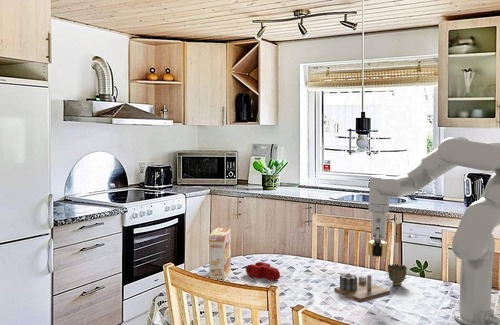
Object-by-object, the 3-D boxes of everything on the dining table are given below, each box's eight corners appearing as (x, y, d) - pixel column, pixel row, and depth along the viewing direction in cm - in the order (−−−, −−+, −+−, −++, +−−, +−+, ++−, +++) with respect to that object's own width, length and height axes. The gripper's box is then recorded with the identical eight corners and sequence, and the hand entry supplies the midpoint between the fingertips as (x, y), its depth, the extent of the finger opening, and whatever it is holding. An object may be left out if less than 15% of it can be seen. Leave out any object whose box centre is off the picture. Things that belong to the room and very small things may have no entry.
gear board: (389, 293, 185) (389, 275, 184) (359, 301, 176) (360, 282, 176) (363, 283, 197) (363, 266, 196) (334, 290, 188) (334, 273, 188)
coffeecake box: (224, 280, 202) (224, 235, 200) (208, 279, 203) (207, 234, 202) (231, 270, 217) (231, 227, 215) (216, 269, 218) (216, 227, 216)
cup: (407, 288, 190) (407, 269, 189) (388, 287, 192) (388, 268, 191) (405, 282, 197) (405, 264, 197) (386, 281, 199) (387, 263, 198)
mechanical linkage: (245, 275, 210) (245, 264, 209) (257, 271, 215) (257, 260, 214) (272, 283, 198) (272, 271, 198) (283, 279, 203) (283, 268, 203)
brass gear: (386, 253, 185) (386, 240, 184) (386, 258, 179) (386, 245, 178) (368, 251, 187) (369, 239, 186) (368, 256, 180) (368, 243, 180)
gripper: (389, 212, 172) (387, 260, 173) (389, 204, 188) (387, 248, 190) (367, 211, 174) (366, 258, 175) (369, 203, 190) (368, 246, 192)
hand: (377, 253), depth 183 cm, fingers closed on brass gear, 6 cm apart
